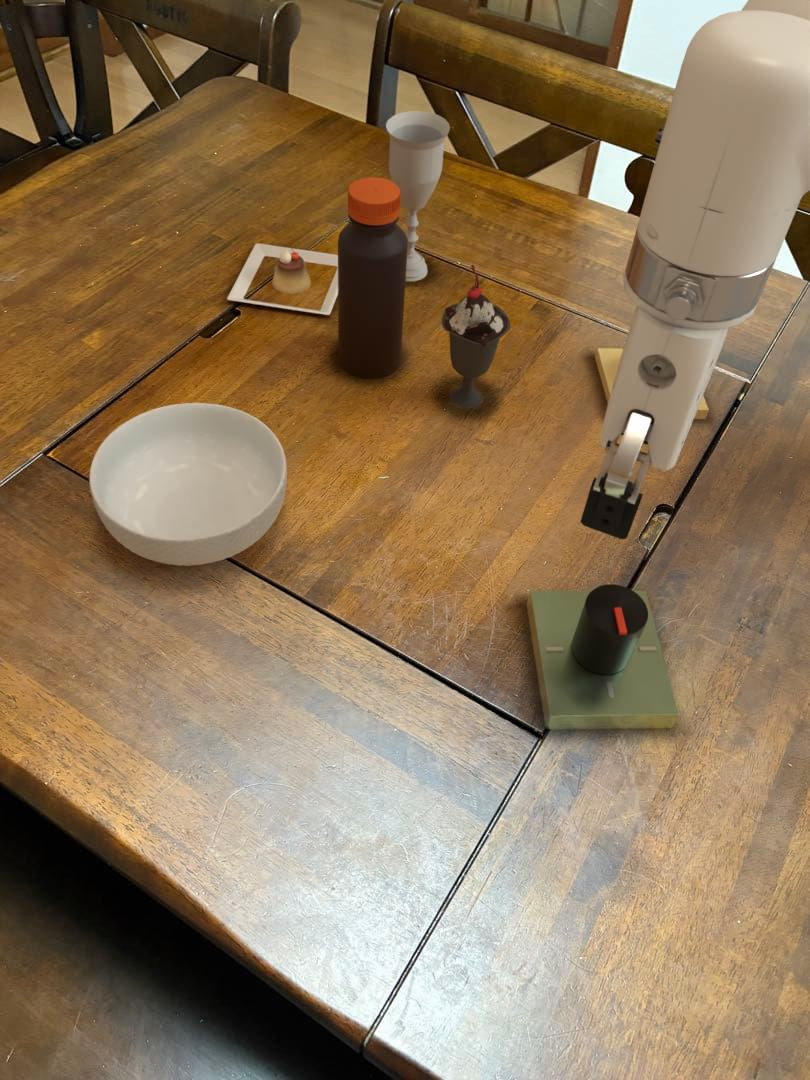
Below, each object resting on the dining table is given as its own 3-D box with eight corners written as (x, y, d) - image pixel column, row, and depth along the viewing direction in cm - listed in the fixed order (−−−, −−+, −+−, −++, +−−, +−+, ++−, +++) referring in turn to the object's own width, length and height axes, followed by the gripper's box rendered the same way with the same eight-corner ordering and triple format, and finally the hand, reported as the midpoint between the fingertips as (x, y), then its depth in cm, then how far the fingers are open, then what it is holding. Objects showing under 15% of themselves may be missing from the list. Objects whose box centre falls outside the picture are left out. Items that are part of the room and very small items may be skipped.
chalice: (426, 296, 108) (438, 148, 94) (372, 283, 109) (376, 134, 95) (444, 264, 112) (458, 118, 99) (392, 251, 114) (399, 106, 100)
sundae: (456, 371, 99) (470, 248, 88) (508, 397, 97) (530, 274, 86) (421, 403, 96) (431, 279, 84) (475, 430, 93) (493, 307, 82)
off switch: (681, 361, 102) (690, 336, 100) (704, 422, 96) (714, 396, 93) (593, 360, 102) (600, 334, 99) (610, 421, 95) (618, 395, 93)
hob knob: (567, 624, 75) (581, 581, 71) (624, 624, 75) (642, 581, 71) (576, 675, 72) (591, 633, 67) (636, 674, 72) (655, 632, 68)
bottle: (380, 390, 97) (387, 217, 81) (326, 368, 98) (323, 195, 83) (411, 356, 100) (424, 185, 85) (359, 335, 102) (361, 164, 87)
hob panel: (638, 607, 80) (646, 589, 78) (670, 731, 72) (679, 714, 70) (525, 607, 79) (530, 589, 77) (544, 732, 71) (550, 715, 69)
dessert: (352, 265, 111) (352, 229, 108) (329, 323, 104) (329, 286, 100) (256, 250, 112) (253, 215, 109) (227, 307, 105) (223, 271, 101)
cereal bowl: (297, 583, 79) (294, 530, 74) (100, 603, 77) (81, 549, 72) (282, 448, 90) (278, 393, 85) (108, 461, 88) (93, 405, 82)
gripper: (733, 377, 45) (644, 590, 58) (789, 214, 55) (702, 425, 68) (586, 332, 46) (531, 548, 59) (667, 182, 57) (606, 394, 70)
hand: (623, 482), depth 64 cm, fingers open, 9 cm apart
